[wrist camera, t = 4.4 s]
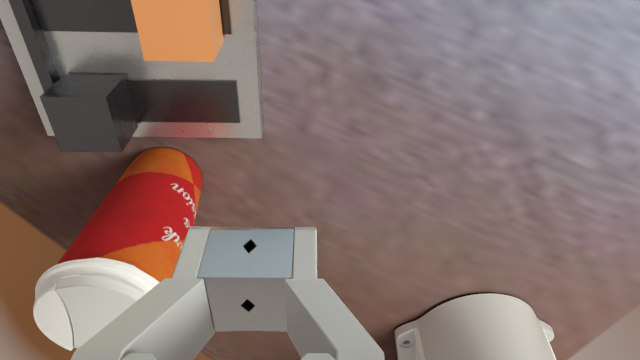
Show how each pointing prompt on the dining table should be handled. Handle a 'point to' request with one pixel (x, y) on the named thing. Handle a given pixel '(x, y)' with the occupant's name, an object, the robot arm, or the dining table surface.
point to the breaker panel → (131, 75)
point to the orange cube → (179, 29)
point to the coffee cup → (121, 248)
